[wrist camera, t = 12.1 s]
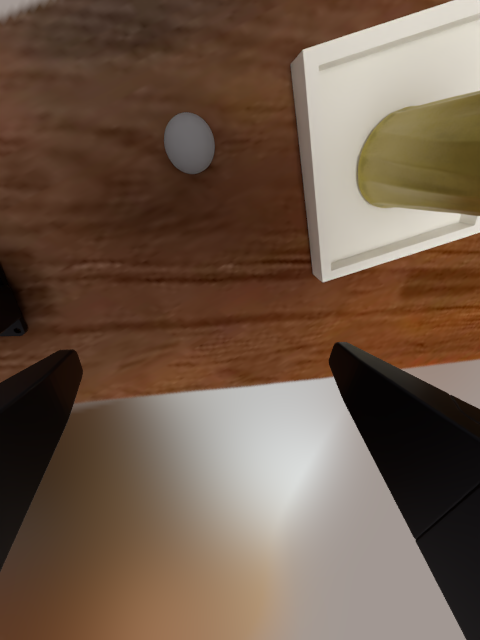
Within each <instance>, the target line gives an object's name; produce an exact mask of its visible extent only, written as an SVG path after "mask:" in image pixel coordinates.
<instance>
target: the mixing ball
mask: <svg viewBox="0 0 480 640" xmlns="http://www.w3.org/2000/svg"><path fill="white" fill-rule="evenodd" d="M164 145H165V150H166V153H167V155H168V157H169V159H170V161H171V162H172V163H173V165H174V166H175V167H176V168H178V169H179V170H181V171H182V172H185V173H188V174H197V173H200V172H202V171H204V170H205V169H206V168H207V167H208V166H209V165H210V163H211V161H212V159H213V156H214V151H215V143H214V137H213V134H212V131H211V129H210V128H209V126H208V124H207V123H206V122H205V121H204V120H203V119H202V118H201V117H199V116H198V115H196V114H193V113H188V112H185V113H180V114H177V115H176V116H174V117H173V118H172V119H171V120H170V121H169V123H168V125H167V127H166V129H165V133H164Z"/></svg>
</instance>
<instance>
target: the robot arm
mask: <svg viewBox="0 0 480 640" xmlns="http://www.w3.org/2000/svg"><path fill="white" fill-rule="evenodd" d="M17 328H18V329H20V330H21V331H20V330H18V329H17ZM26 332H27V327H26V324H25V322H24V320H23V317H22V314H21V312H20V309H19V307H18V305H17V302H16V300H15V298H14V295H13V293H12V291H11V289H10V287H9V285H8V283H7V281H6V278H5V276H4V274H3V271H2V269H1V267H0V336H22V335H24V334H25V333H26ZM329 365H330V368H331V371H332V373H333V376H334V378H335V381H336V383H337V386H338V388H339V391H340V394H341V396H342V398H343V400H344V403H345V404H346V407H347V409H348V411H349V412H350V414H351V416H352V418H353V420H354V422H355V424H356V426H357V428H358V430H359V432H360V434H361V436H362V438H363V439H364V442H365V443H366V445H367V447H368V449H369V451H370V453H371V455H372V457H373V459H374V461H375V463H376V465H377V467H378V469H379V471H380V473H381V474H382V476H383V478H384V480H385V482H386V484H387V486H388V488H389V490H390V491H391V494H392V496H393V498H394V500H395V502H396V504H397V505H398V508H399V509H400V511H401V513H402V515H403V517H404V519H405V521H406V523H407V525H408V527H409V529H410V531H411V533H412V535H413V537H414V538H415V539H416V543H417V545H418V547H419V549H420V550H421V553H422V554H423V556H424V558H425V560H426V562H427V564H428V566H429V568H430V570H431V572H432V574H433V576H434V578H435V580H436V582H437V584H438V586H439V587H440V589H441V591H442V593H443V595H444V597H445V599H446V601H447V603H448V605H449V607H450V609H451V611H452V613H453V615H454V617H455V619H456V620H457V622H458V624H459V626H460V628H461V630H462V632H463V634H464V636H465V638H466V640H480V409H478V408H476V407H474V406H472V405H470V404H468V403H466V402H464V401H462V400H460V399H458V398H456V397H454V396H452V395H449V394H448V393H446V392H444V391H442V390H440V389H438V388H436V387H434V386H432V385H430V384H428V383H426V382H424V381H422V380H421V379H419V378H417V377H415V376H413V375H411V374H409V373H407V372H405V371H403V370H401V369H399V368H397V367H395V366H393V365H391V364H389V363H387V362H385V361H383V360H381V359H379V358H377V357H375V356H373V355H371V354H369V353H367V352H365V351H363V350H361V349H359V348H357V347H355V346H353V345H351V344H349V343H347V342H337V343H335V344H334V346H333V349H332V352H331V355H330V358H329ZM82 375H83V369H82V366H81V363H80V360H79V357H78V354H77V352H76V351H75V350H59V351H57V352H55V353H53V354H52V355H50V356H48V357H46V358H44V359H43V360H41V361H39V362H37V363H35V364H34V365H32V366H30V367H28V368H26V369H24V370H23V371H21V372H19V373H17V374H15V375H14V376H12V377H10V378H8V379H6V380H5V381H3V382H1V383H0V571H1V569H2V567H3V564H4V562H5V560H6V558H7V555H8V553H9V551H10V549H11V546H12V544H13V542H14V540H15V538H16V535H17V533H18V531H19V529H20V527H21V524H22V522H23V520H24V518H25V515H26V513H27V511H28V509H29V506H30V504H31V502H32V500H33V498H34V495H35V493H36V491H37V489H38V486H39V484H40V482H41V480H42V478H43V475H44V473H45V471H46V468H47V467H48V464H49V462H50V460H51V458H52V455H53V453H54V451H55V448H56V446H57V444H58V442H59V440H60V437H61V435H62V433H63V431H64V429H65V426H66V424H67V422H68V419H69V416H70V413H71V410H72V407H73V404H74V401H75V398H76V395H77V391H78V388H79V385H80V382H81V379H82Z"/></svg>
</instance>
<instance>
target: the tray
mask: <svg viewBox="0 0 480 640" xmlns="http://www.w3.org/2000/svg"><path fill="white" fill-rule="evenodd" d="M290 65H291V75H292V84H293V93H294V102H295V112H296V121H297V130H298V140H299V149H300V158H301V168H302V177H303V186H304V196H305V205H306V214H307V224H308V233H309V242H310V251H311V261H312V270H313V275H314V276H316V277H317V278H318V279H319V280H320V281H322V282H326V281H329V280H332V279H335V278H338V277H342V276H345V275H348V274H351V273H354V272H357V271H360V270H363V269H367V268H370V267H373V266H376V265H379V264H382V263H385V262H389V261H392V260H395V259H398V258H401V257H404V256H407V255H411V254H414V253H417V252H420V251H423V250H426V249H429V248H433V247H436V246H439V245H442V244H445V243H448V242H451V241H455V240H458V239H461V238H464V237H467V236H470V235H473V234H477V233H480V216H473V215H465V214H459V213H447V212H435V211H425V210H416V209H407V208H397V207H393V208H380V207H376V206H373V205H371V204H370V203H368V202H367V201H366V200H365V198H364V197H363V195H362V194H361V191H360V189H359V185H358V163H359V158H360V155H361V152H362V149H363V147H364V145H365V142H366V141H367V139H368V137H369V135H370V134H371V132H372V131H373V130H374V128H375V127H376V126H377V125H378V124H379V123H380V122H381V121H382V120H383V119H384V118H385V117H387V116H388V115H389V114H391V113H393V112H395V111H397V110H400V109H402V108H405V107H409V106H418V105H423V104H427V103H430V102H434V101H438V100H442V99H446V98H450V97H454V96H458V95H463V94H467V93H471V92H476V91H480V0H454V1H451V2H448V3H445V4H441V5H438V6H435V7H432V8H429V9H426V10H423V11H420V12H417V13H414V14H411V15H408V16H405V17H402V18H399V19H396V20H392V21H389V22H386V23H383V24H380V25H377V26H374V27H371V28H368V29H365V30H362V31H359V32H356V33H353V34H350V35H347V36H343V37H340V38H337V39H334V40H331V41H328V42H325V43H322V44H319V45H316V46H313V47H310V48H307V49H304V50H302V51H301V53H300V54H299V55H298V56H297V57H296V58H295V60H294V61H293V62H292V63H291V64H290Z"/></svg>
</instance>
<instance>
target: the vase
mask: <svg viewBox="0 0 480 640" xmlns="http://www.w3.org/2000/svg"><path fill="white" fill-rule="evenodd" d="M358 185H359V189H360V191H361V194H362V195H363V197H364V198H365V200H366V201H367V202H368V203H370V204H371V205H373V206H376V207H380V208H393V207H397V208H407V209H416V210H425V211H435V212H447V213H459V214H465V215H473V216H480V91H476V92H471V93H467V94H463V95H458V96H454V97H450V98H446V99H442V100H438V101H434V102H430V103H427V104H423V105H418V106H409V107H405V108H402V109H400V110H397V111H395V112H393V113H391V114H389V115H388V116H387V117H385V118H384V119H383V120H382V121H381V122H380V123H379V124H378V125H377V126H376V127H375V128H374V130H373V131H372V132H371V134H370V135H369V137H368V139H367V141H366V142H365V145H364V147H363V149H362V152H361V155H360V158H359V163H358Z"/></svg>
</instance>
